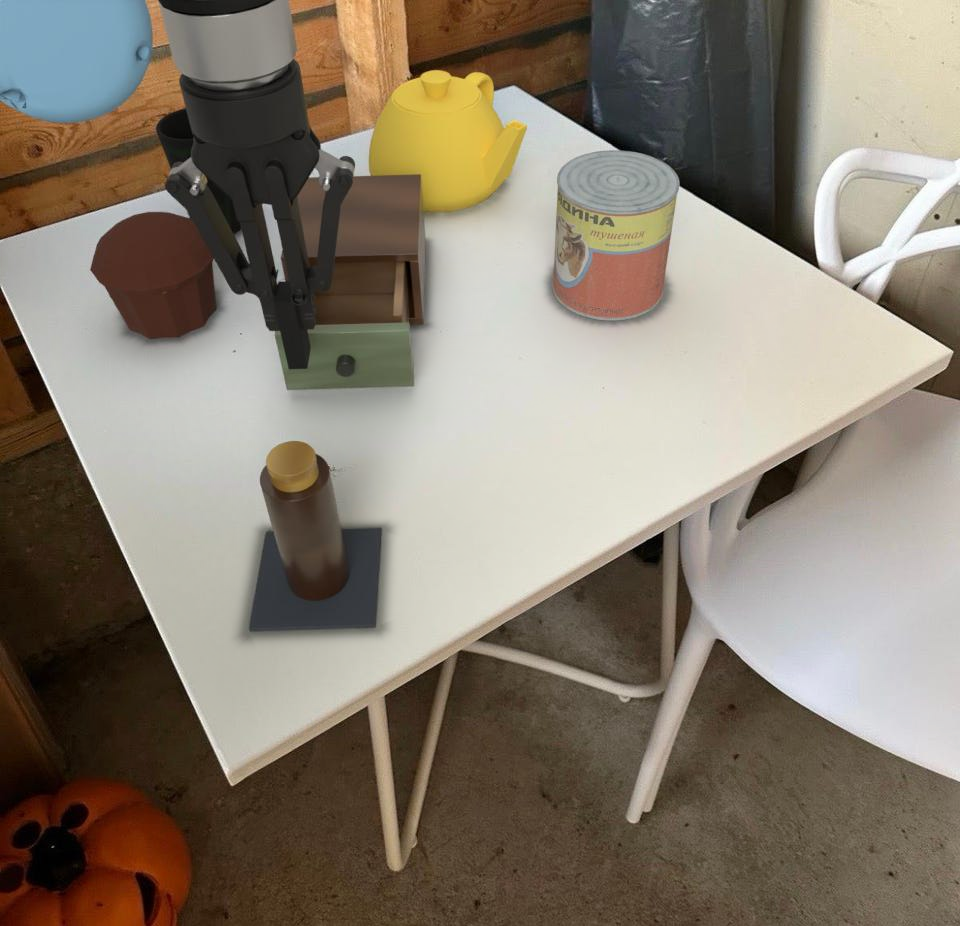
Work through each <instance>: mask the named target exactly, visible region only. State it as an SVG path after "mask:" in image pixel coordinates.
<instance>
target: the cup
mask: <svg viewBox="0 0 960 926" xmlns="http://www.w3.org/2000/svg"><path fill="white" fill-rule="evenodd" d="M155 131H156V134H157V137H158V139H159V143H160V145H161V147H162V150H163V152H164V156H165V158H166V160H167V163H168V165H169V168H170V169H171V168H172V166H173V164H174V163H176V162H183V163H184V162H185V161H186V160H188V159H189V158H190V157H191V149H192V147H193V142H194V136H193V133H192V130H191V126H190V122H189V118H188V114H187V111H186V107H185V108H180V109H178V110H175V111H172V112H170V113H168V114H166V115H164V116H163V117H162V118H161V119H160V120H159V121H158V123H157V124H156V126H155ZM205 177H206V176H205ZM206 178H207V177H206ZM206 185H207V186H208V188H209V189H210V191H211V193H212V194H213V196H214V198H215V200H216V202H217V204H218V206H219V207H220V209H221V211H222V213H223V215H224V217H225V219H226V221H227V223H228V225H229V226H230V228H231V230H232V232H233V234H234V235H235V234H237V233H239V232H240V231H242V230H241V225H240V222H239V221H238V220H237V217H236V213H235V209H234V205H233V200H231V199H230V198H229V197H228V196H227V195H225V194H224V193H223V192H222V191H221V190H220V189H219V188H218V187H217V186H216V185H215V184H214V183H213V182H211V181H210V180H209V179H208V178H207V184H206ZM186 212H187V214H188V218H190V219H191V217H190V215H189V213H188V211H187V210H186Z"/></svg>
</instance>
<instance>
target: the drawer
mask: <svg viewBox="0 0 960 926" xmlns="http://www.w3.org/2000/svg"><path fill="white" fill-rule="evenodd" d="M309 265H310V268H311V267H314V266H316V265H317V264H309ZM313 294H314V299H315V304H316V310H317V317H316V323H315V327H314V329H311V330H307V331H308V336H309V341H310V346H311V349H310V355H309V362H308V368H307V369H289V368H288V364H287V359H286V355H285V351H284V346H283V342H282V337H281V333H280V331H274V338H275V343H276V348H277V352H278V357H279V361H280V365H281V369H282V375H283V379H284V384H285V387H286V390H287V391H300V390H302V391H303V390H336V389H337V390H339V389H367V388H369V389H373V388H400V387H401V388H402V387H403V388H404V387H414V386H415V372H414V371H415V370H414V359H413V349H412V337H411V327H410V326H411V325H409V309H410V288H409V276H408V265H407V261H398V262H364V263H334V269H333V275H332V282H331V287H330V289H329V290H328V291H319V290H318V291H315V292H314V293H313Z"/></svg>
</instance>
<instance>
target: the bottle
mask: <svg viewBox="0 0 960 926" xmlns="http://www.w3.org/2000/svg"><path fill="white" fill-rule="evenodd" d="M259 484H260V489H261V492H262V496H263V500H264V502H265V506H266V510H267V514H268V517H269V520H270V524H271V528H272V531H273V532H274V535H275V539H276V542H277V546H278V550H279V553H280V557H281V560H282V564H283V568H284V571H285V575H286V578H287V582H288V585H289V588H290V590H291V591H292V592H293V593H294V594H295V595H296V596H298V597H299V598H301V599H304V600H308V601H321V600H325V599H328V598H331V597H333V596H335V595H336V594H338V593H339V592H340V591H341V590H342V589H343V588H344V587H345V585H346V584H347V582H348V579H349V566H348V561H347V556H346V551H345V546H344V540H343V535H342V530H341V529H342V526H341V522H340V515H339V510H338V506H337V505H338V504H337V500H336V496H335V489H334V484H333V479H332V473H331V470H330V466H329V464H328V462H327V460H325V458H324V457H322V456H321V455H319V454H318V453H316V451H315V449H314V448H313V447H312V446H311V445H310V444H309V443H306V442H304V441H299V440H290V441H284V442H282V443H279V444H278V445H276V446H274V447H273V448H272V449H271V450H270V451H269V452H268V454H267V455H266V459H265V465H264V467H263V468H262V470H261V472H260V476H259Z"/></svg>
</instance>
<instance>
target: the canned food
mask: <svg viewBox="0 0 960 926" xmlns="http://www.w3.org/2000/svg"><path fill="white" fill-rule="evenodd" d="M556 184H557V192H556V193H557V194H556V195H557V197H556V214H555V215H556V217H555V236H554V237H555V238H554V257H553V260H554V261H553V277H552V280H551V281H552V282H551V288H552V289H551V290H552V293H553V295H554V297H555V299H556V300H557V301H558V302H559V303H560V304H561V305H562V306H563V307H564V308H566V309H567V310H569V311H570V312H572V313H573V314H577V315H579V316H580V317H581V316H582V317H584V318H588V319H592V320H599V321H609V322H610V321H612V322H613V321H614V322H615V321H624V320H631V319H635V318H638V317H641V316H643V315H645V314H648V313H649V312H651V311H652V310H653V309H655V308H656V307H657V306H658V305H659V303H661V300H662V299H663V296H664V288H665V287H664V285H665V278H666V270H667V263H668V257H669V251H670V244H671V238H672V231H673V224H674V217H675V210H676V205H677V198H678V193H679V191H680V184H681V183H680V178H679V176H678V174H677V172H676V171H675V170H674V169H673V168H672V167H671V166H670V165H668V164H667V163H666V162H664V161H662V160H661V159H658V158H657V157H653V156H651V155H649V154H645V153H641V152H636V151H629V150H614V149H613V150H609V149H608V150H599V151H593V152H588V153H584V154H581V155H579V156H576V157H574V158H573V159H570V160H569V161H567V162H566V163H565V164H564V165H562V166H561V167H560V169H559V171H558V173H557V176H556Z"/></svg>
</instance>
